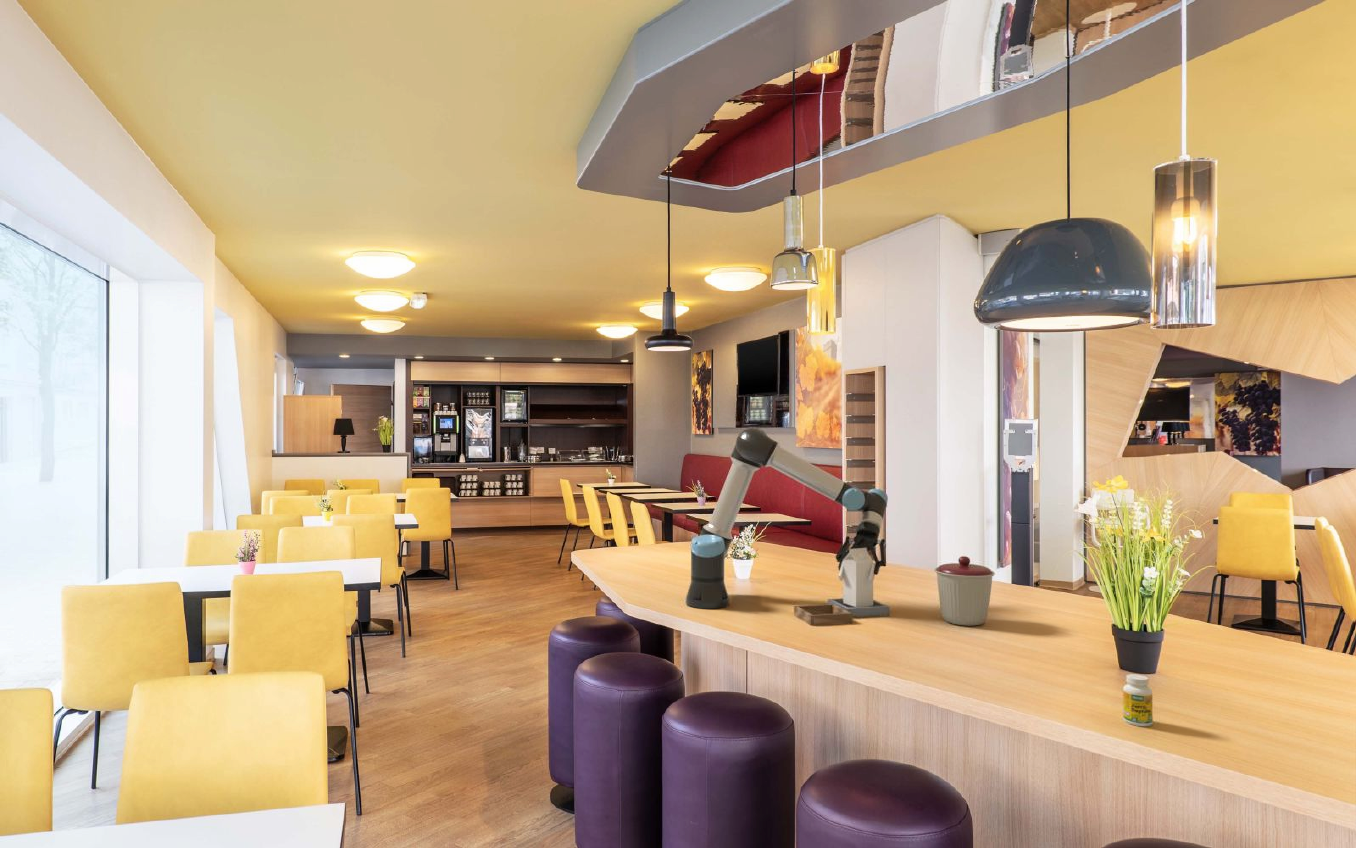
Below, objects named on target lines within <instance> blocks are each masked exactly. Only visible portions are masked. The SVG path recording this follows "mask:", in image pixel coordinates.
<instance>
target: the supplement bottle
mask: <svg viewBox="0 0 1356 848" xmlns="http://www.w3.org/2000/svg"><path fill="white" fill-rule="evenodd" d="M1125 682H1126V683H1127V684H1125V685H1124V686H1123V687H1122V688H1123V689H1122V693H1123V694H1122V696H1123V700H1122V701H1123V704H1122V705H1123V706H1122V707H1123V710H1122V711H1123V714H1122V715H1123V720H1124V722H1125V723H1127V724H1128V725H1132V726H1137V727H1142V728H1143V727H1150V726H1152V725H1153V721H1154V719H1153V718H1154V717H1153V716H1154V715H1153V691H1152V689H1151V688H1150V687H1149V677H1147V676H1145V675H1141V674H1137V673H1134V674H1131V673H1130V674H1127V675H1126V681H1125Z"/></svg>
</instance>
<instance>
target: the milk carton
mask: <svg viewBox="0 0 1356 848" xmlns="http://www.w3.org/2000/svg"><path fill="white" fill-rule="evenodd" d="M848 550H849V553H848V555H847V556H846V557H845V558H844V559H843V580H842V582H843V584H842V588H843V589H842V591H843V592H842V595H843V596H842V598H843V603H844V604H847V605H850V606H853V607H864V606H873V600H874V583H873V584H870V581H869V576H870V572H871V568H872V564H873V563H874V559H873V558H872V557H871V556H870V554H869V552H868V551H867V548H857V549H850V548H849V549H848Z"/></svg>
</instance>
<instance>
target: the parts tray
mask: <svg viewBox="0 0 1356 848" xmlns="http://www.w3.org/2000/svg"><path fill="white" fill-rule="evenodd" d="M827 604H834V605H836V606H838V607H840V608H842V609H844V610H846V611H848V612H850V613H852V619H854V618H853V617H856V618H870V617H872V618H873V617H887V616H888V617H890V606H889V605H886V604H885V603H882V602H880V601H877V600H875V599H873V606H864V607H853V606H850V605H847V604H844V603H843V597H842V598H841V597H840V598H827Z"/></svg>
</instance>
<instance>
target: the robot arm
mask: <svg viewBox="0 0 1356 848" xmlns="http://www.w3.org/2000/svg"><path fill="white" fill-rule="evenodd" d="M730 460H731V462H732V464H731V467H730V469H729V471H728V474H727V476H726V479H725V481H724V484H723V486H722V489H721V491H720V494H719V497H718V500H717V501H716V504H715V507H714V510H713V511H712V512H713V513H712V515H711V517H710V520H709V522H708V523H707V524H705V525H703V526H702V529H701V531H700V534H699V535H697V536H694V537H693V538H692V539H691V542H690V543H691V544H690V556H691V557H690V561H691V562H690V584H689V587H688V589H687V593H686V597H685V604H686V606H688V607H691V608H696V609H721V608H726V607H728V606H729V605H730V596H729V594H728V590H727V587H726V584H725V559H726V557H727V555H728V551H729V549H730V547H731V543H732V540H733V535H732V529H733V527H734V525H735V522H736V520H737V517H738V514H739V512H740V509H741V506H742V504H743V501H744V499H745V497H746V494H747V491H748V490H749V487H750V484H751V481H752V479H753V476H754V473H756V471H758V470H760V469H761V467H764V468H767V467H771V468H773V469H774V470H776V471H778V472H779V473H782V474H784V475H785V476H788V478H791V479H793V480H794V481H797V482H798V483H800V484H802V485H804V486H806V487H808V488H810V489H811V490H814V491H815V492H816V493H819V494H820V495H823V496H825V497H826V498H829V499H830V500H832V501H833V502H835V503H837V504H839V505H841V506H843V507H844V508H845V509H847V510H849V511H854V512H855V511H858V512H861V516H860V519H859V524H858V526H857V530H856V534H855V536H854V537H850V536H849V535H847V536H846V537H845V541H844V542H843V544H842V545H841V547H840V549H839V550H838V552H837V553H836V555H835V560H836V562H837V563H839V564H838V565H837V566H838V567H837V569H838V571H839V572H838V578H839V581H841V582H843V559H844V558H845V557H846V556H847V555H848V553H849V549H857V548H867V552H868V551H870V553H871V555H872V557H873V558H872V559H873V564H872V568H871V572H870V576H869V581H870V584H873V585H874V580H875V576H877V575H879V572H880V568H882V567H886V566H887V561H886V560H887V559H886V547H887V543H886V540H885V539H884V538H882V539H879V537H880V534H881V528H882V524H883V522H884V521H883V520H884V517H885V513H886V509H887V507H888V500H889V497H888V494H887V493H886V492H885V491H884V490H882V489H880V488H878V489H877V488H872V489H870V490H868V491H866V490H863V489H861V488H858V487H856V486H855V485H851V484H850V483H847V482H845V481H844V480H842V479H840V478H838V477H837V476H835V475H832V474H831V473H829V472H827V471H825V470H823V469H822V468H819V467H818V466H816V465H814V464H812V463H810V462H809V461H806V460H805V459H803V458H801V457H799V456H797V455H796V454H793V453H792V452H790V451H789V450H786V449H785V448H783V447H781V446H780V444H779V442H778V441H775V440H774V439H772V438H771V437H770V436H768V435H767V433H766V432H765V431H764V430H762V429H760V428H758V427H755V426H754V427H753V426H752V427H751V426H750V427H747V428H744V429H742V431H741V432H739V434H738V436H737V437H736V440H735V445H734V447H733V449H732V452H731V454H730ZM877 545H878V547H879V551H880V552H879V553H880V560H879V558H878V555H877V554H876V551H875V547H876V546H877Z"/></svg>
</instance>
